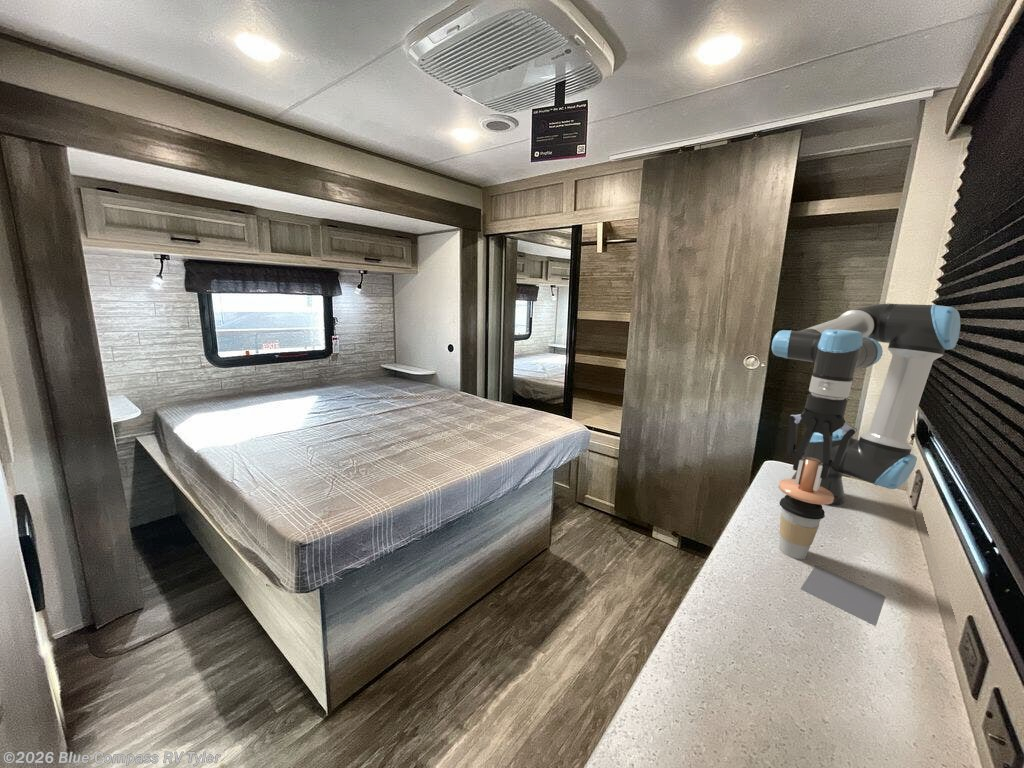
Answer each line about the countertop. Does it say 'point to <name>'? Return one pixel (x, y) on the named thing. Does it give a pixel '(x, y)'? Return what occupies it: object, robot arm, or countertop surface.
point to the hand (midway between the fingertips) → (806, 485)
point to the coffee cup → (798, 526)
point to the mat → (844, 594)
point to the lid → (807, 485)
